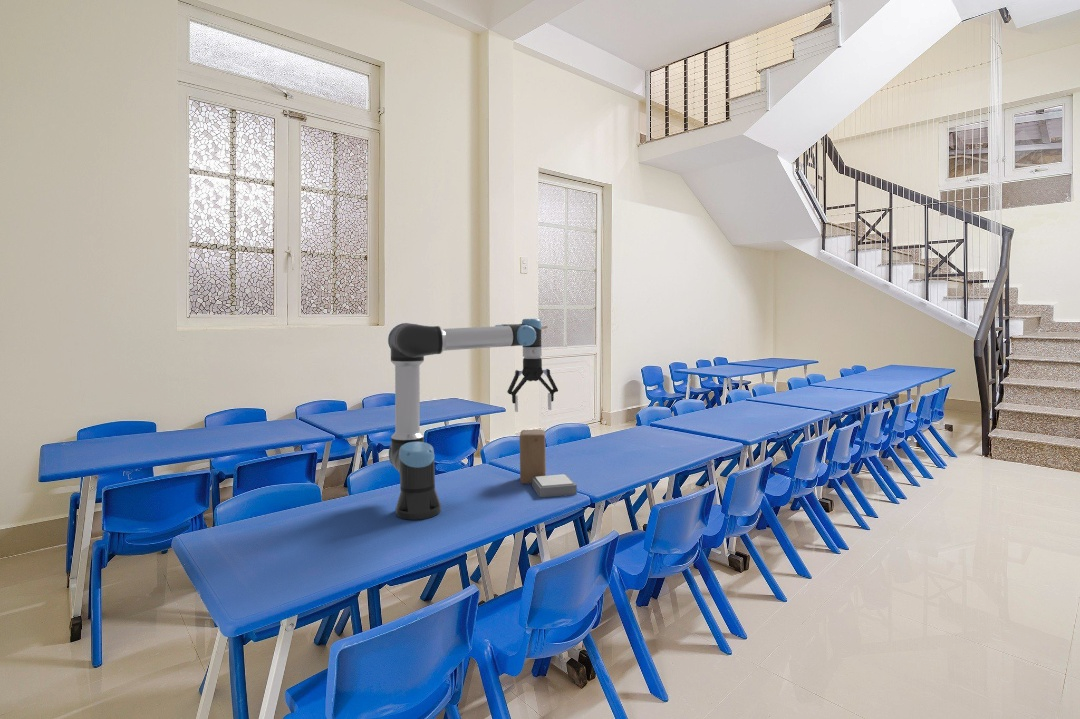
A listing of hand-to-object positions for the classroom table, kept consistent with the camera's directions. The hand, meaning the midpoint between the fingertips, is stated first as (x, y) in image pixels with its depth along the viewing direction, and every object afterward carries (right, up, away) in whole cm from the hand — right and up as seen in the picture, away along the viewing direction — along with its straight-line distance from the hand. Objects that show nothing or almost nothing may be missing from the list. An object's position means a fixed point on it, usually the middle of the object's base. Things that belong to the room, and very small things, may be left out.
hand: (533, 410), depth 229 cm
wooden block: (0, -29, +3) cm, 29 cm away
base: (+8, -30, -9) cm, 32 cm away
